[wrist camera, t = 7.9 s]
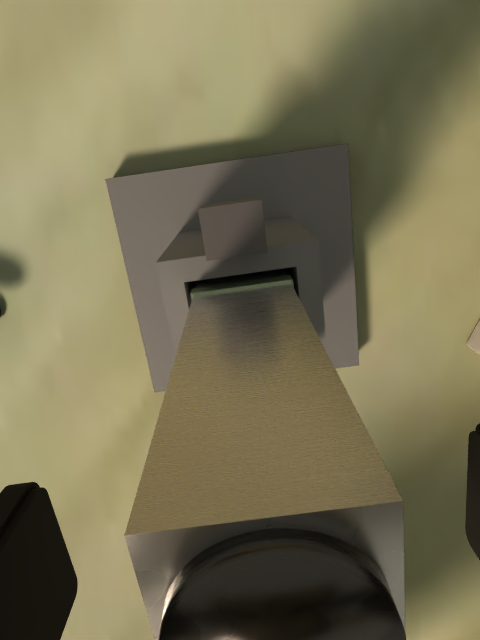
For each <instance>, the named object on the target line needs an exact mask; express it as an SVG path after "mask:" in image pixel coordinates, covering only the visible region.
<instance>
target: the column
mask: <svg viewBox="0 0 480 640" xmlns="http://www.w3.org/2000/svg"><path fill="white" fill-rule="evenodd" d="M190 295H191V300H192V301H191V305H190V308H189V312H188V315H187V319H186V322H185V326H184V329H183V333H182V336H181V340H180V343H179V347H178V350H177V354H176V357H175V361H174V364H173V368H172V371H171V375H170V378H169V382H168V385H167V389H166V392H165V396H164V399H163V403H162V406H161V410H160V413H159V417H158V420H157V424H156V427H155V431H154V434H153V438H152V441H151V445H150V448H149V452H148V455H147V459H146V462H145V465H144V469H143V472H142V476H141V479H140V483H139V486H138V490H137V493H136V497H135V500H134V504H133V507H132V511H131V514H130V518H129V521H128V525H127V528H126V532H125V535H124V536H125V539H126V543H127V546H128V550H129V553H130V556H131V560H132V563H133V567H134V570H135V573H136V577H137V580H138V584H139V587H140V590H141V594H142V597H143V601H144V604H145V607H146V611H147V614H148V618H149V621H150V624H151V628H152V631H153V635H154V638H155V640H406V634H405V589H404V515H403V499H402V497H401V495H400V494H399V492H398V490H397V488H396V486H395V484H394V482H393V480H392V478H391V476H390V474H389V472H388V470H387V468H386V466H385V464H384V462H383V461H382V459H381V457H380V455H379V453H378V451H377V449H376V447H375V445H374V443H373V441H372V439H371V437H370V435H369V433H368V431H367V430H366V428H365V426H364V424H363V422H362V420H361V418H360V416H359V414H358V412H357V410H356V408H355V406H354V404H353V402H352V400H351V398H350V397H349V395H348V393H347V391H346V389H345V387H344V385H343V383H342V381H341V379H340V377H339V375H338V373H337V371H336V369H335V367H334V365H333V364H332V362H331V360H330V358H329V356H328V354H327V352H326V350H325V348H324V346H323V344H322V342H321V340H320V338H319V336H318V334H317V332H316V331H315V329H314V327H313V325H312V323H311V321H310V319H309V317H308V315H307V313H306V311H305V309H304V307H303V305H302V303H301V301H300V299H299V298H298V296H297V294H296V292H295V290H294V287H293V279H292V277H291V275H287V274H286V272H285V270H284V268H283V269H276V270H268V271H261V272H254V273H247V274H240V275H233V276H225V277H218V278H211V279H204V280H197V284H196V287H195V288H192V290H191V293H190Z"/></svg>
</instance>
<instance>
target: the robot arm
mask: <svg viewBox="0 0 480 640" xmlns="http://www.w3.org/2000/svg"><path fill="white" fill-rule="evenodd" d="M465 528H466V535H467V538H468V541H469V544H470V546H471V547H472V549H473V551H474V552H475V554H476V555H477V557H478V558H479V560H480V424H478V425H477V427H476V431H472V432H470V434H469V445H468V472H467V499H466V526H465ZM76 594H77V577H76V574H75V571H74V568H73V565H72V562H71V559H70V556H69V553H68V550H67V547H66V544H65V542H64V539H63V536H62V533H61V530H60V527H59V524H58V521H57V518H56V515H55V512H54V509H53V507H52V504H51V501H50V498H49V495H48V492H47V490H46V489H45V488H40V487H39V485H38V484H37V483H36V482H29V483H21V484H14V485H8V486H6V487H5V488H4V489H3V490H2V492H1V493H0V640H60V639H61V636H62V633H63V630H64V628H65V625H66V622H67V619H68V617H69V614H70V611H71V608H72V606H73V603H74V600H75V597H76Z"/></svg>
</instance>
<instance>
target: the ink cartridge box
mask: <svg viewBox="0 0 480 640" xmlns="http://www.w3.org/2000/svg"><path fill="white" fill-rule="evenodd" d="M467 345H468V347H470V348H471V349H472V350H474V351H475V352H476V353H478V354H479V355H480V320H479V322H478V324H477V325H476V327H475V329H474V331H473V333H472V334H471V336H470V338H469V340H468V342H467Z"/></svg>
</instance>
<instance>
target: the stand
mask: <svg viewBox="0 0 480 640" xmlns="http://www.w3.org/2000/svg"><path fill="white" fill-rule="evenodd" d="M106 184H107V188H108V192H109V197H110V201H111V205H112V210H113V214H114V218H115V223H116V227H117V231H118V236H119V240H120V244H121V249H122V253H123V257H124V262H125V266H126V270H127V275H128V279H129V283H130V288H131V292H132V296H133V301H134V305H135V309H136V314H137V318H138V322H139V327H140V331H141V335H142V340H143V344H144V348H145V353H146V357H147V361H148V366H149V370H150V374H151V379H152V383H153V387H154V392H161V391H166V389H167V385H168V382H169V378H170V375H171V371H172V368H173V364H174V361H175V357H176V354H177V350H178V347H179V343H180V340H181V336H182V333H183V329H184V326H185V322H186V319H187V315H188V312H189V308H190V305H191V301H192V300H191V295H190V293H191V290H192V288H195V287H196V284H197V280H204V279H211V278H218V277H225V276H233V275H240V274H247V273H254V272H261V271H268V270H276V269H283V268H284V270H285V272H286V274H287V275H291V277H292V279H293V287H294V290H295V292H296V294H297V296H298V298H299V299H300V301H301V303H302V305H303V307H304V309H305V311H306V313H307V315H308V317H309V319H310V321H311V323H312V325H313V327H314V329H315V331H316V332H317V334H318V336H319V338H320V340H321V342H322V344H323V346H324V348H325V350H326V352H327V354H328V356H329V358H330V360H331V362H332V364H333V365H334V367H335V368H342V367H349V366H357V365H359V352H358V332H357V312H356V292H355V271H354V251H353V231H352V211H351V191H350V171H349V151H348V144H341V145H334V146H327V147H320V148H313V149H307V150H300V151H293V152H286V153H279V154H273V155H266V156H259V157H252V158H245V159H238V160H232V161H225V162H218V163H211V164H204V165H198V166H191V167H184V168H177V169H170V170H163V171H157V172H150V173H143V174H136V175H129V176H122V177H116V178H109V179H106Z"/></svg>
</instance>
